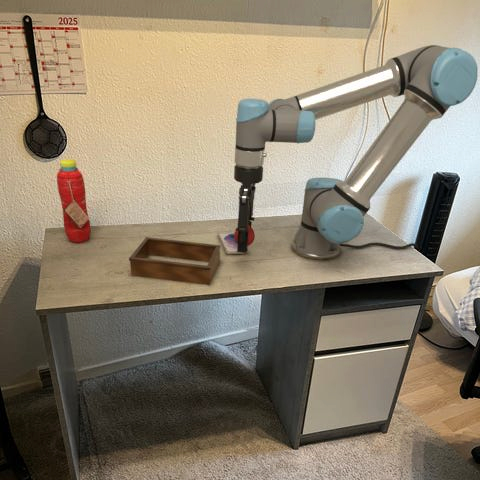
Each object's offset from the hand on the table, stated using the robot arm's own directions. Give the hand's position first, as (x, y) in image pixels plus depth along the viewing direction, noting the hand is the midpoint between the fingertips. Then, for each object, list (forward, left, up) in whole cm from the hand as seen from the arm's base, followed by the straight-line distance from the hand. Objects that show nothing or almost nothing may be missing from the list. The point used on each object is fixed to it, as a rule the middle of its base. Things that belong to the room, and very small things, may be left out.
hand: (243, 246), depth 135 cm
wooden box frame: (+19, +3, -8) cm, 21 cm away
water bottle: (+54, -7, -8) cm, 55 cm away
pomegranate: (0, 0, 0) cm, 0 cm away
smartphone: (+6, -17, -8) cm, 20 cm away
